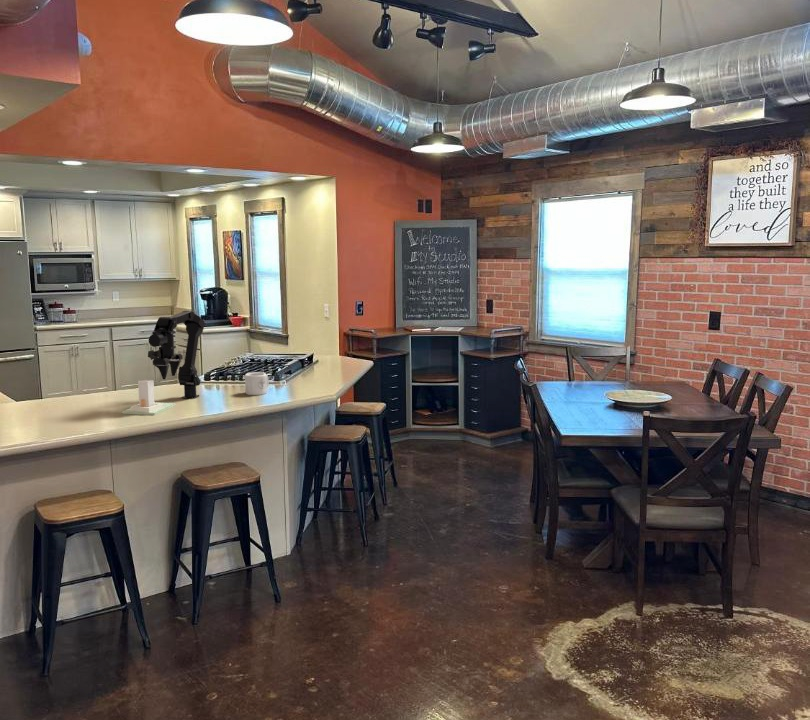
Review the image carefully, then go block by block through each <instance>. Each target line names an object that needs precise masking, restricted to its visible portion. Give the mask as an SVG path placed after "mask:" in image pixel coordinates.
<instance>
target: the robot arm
mask: <svg viewBox="0 0 810 720" xmlns="http://www.w3.org/2000/svg"><path fill="white" fill-rule="evenodd" d="M182 323H183V325H184V326H185V331H186V333H187V335H188V336H187V342H186V349H185V354H184V356H183V354H182V353H175V349H176V347H177V345H175V340H174V339H175V338H174V334H175V335H176V331H175V328H177V327H178V325H179V324H182ZM205 324H206V323H205V321H204V320H203V318H202V317H201V316H198V315H197V314H196V313H195V312H194V311H192V310H182V311H181V312H178V313H176V314H173V315H171V316H160V317H158V319H157V320H156V324H155V327H154V329H153V331H152V333H151V335H150V336H149V337H148V343H149V345H150V346H151V347H153V348H156V347H158V349H157V350H155V351H154V350H153V349H152V350H149V351H148V353H147V357H148V358H149V359H150V361H152V366H154V367H156V369H158V370H159V372H160V376H161V378H162V380H166V378H167V376H168V372H169V368H170V372H171V373H170V374H171V376H172V377H174V376H175V375H176V373H177V370H178V373H177V375H178V376H177V379H178V383H179V386H183V391H184V394H183V396H181V399H196V398H198V397H200V394H197V387H199V386H200V385H201V381H202V380H201V378H200V377H199V376H198V370H197V368H196V359H197V357H196V356H197V350H198V346H199V345H198V344H199V338H200V336H202V334H203V332H204V330H205V329H204V328H205V326H206V325H205ZM182 360H184V362H183V365H182V366H180V364H181V362H182Z"/></svg>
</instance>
